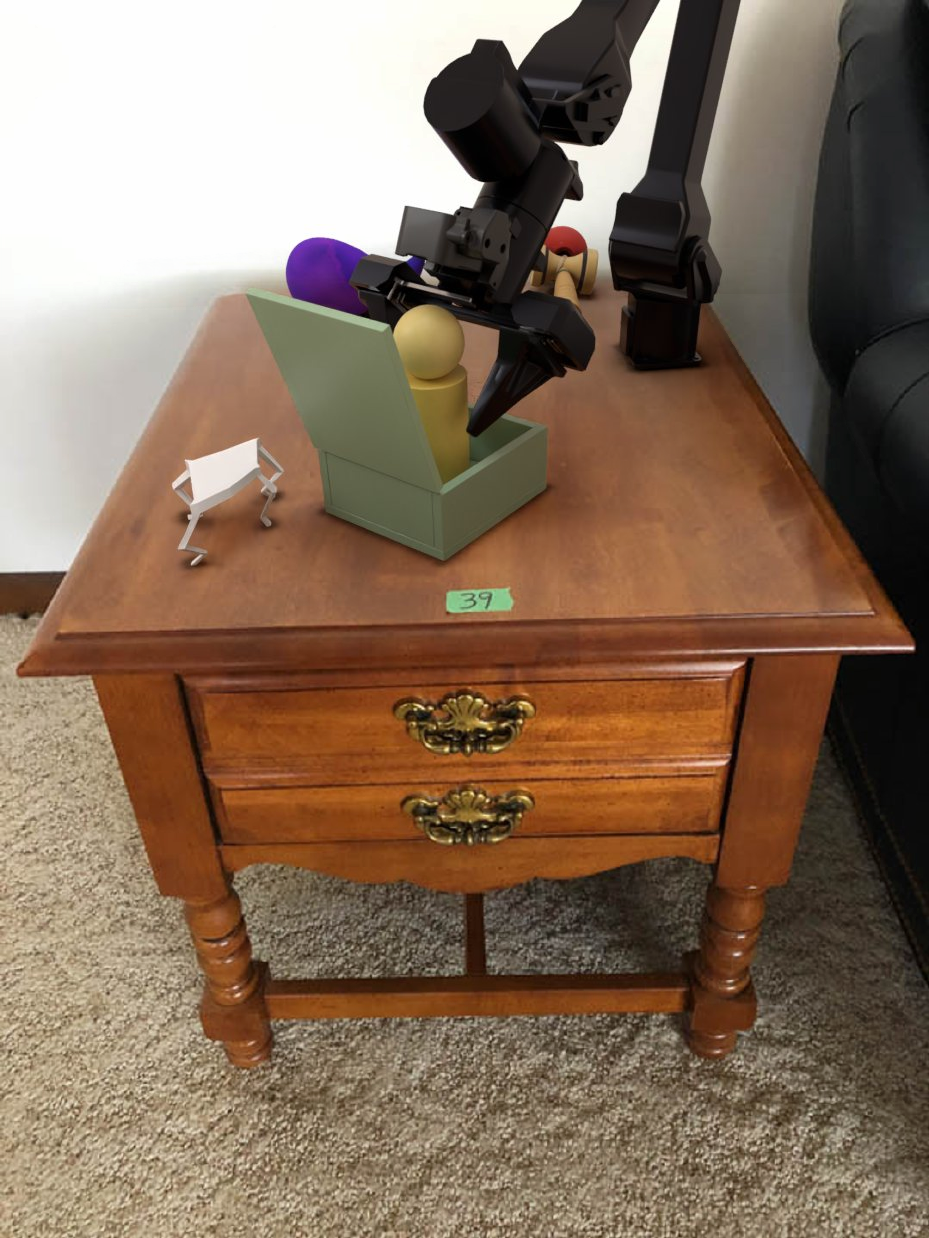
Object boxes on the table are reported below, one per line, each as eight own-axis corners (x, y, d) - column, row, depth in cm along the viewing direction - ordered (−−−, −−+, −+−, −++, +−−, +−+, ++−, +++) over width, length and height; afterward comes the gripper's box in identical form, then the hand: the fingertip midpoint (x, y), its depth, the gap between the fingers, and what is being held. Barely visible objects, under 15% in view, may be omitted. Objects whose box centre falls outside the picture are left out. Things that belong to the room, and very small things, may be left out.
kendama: (611, 339, 107) (598, 260, 120) (603, 283, 102) (591, 207, 115) (537, 353, 108) (532, 273, 121) (527, 298, 104) (522, 221, 116)
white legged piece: (186, 492, 81) (174, 435, 78) (292, 490, 81) (284, 433, 78) (147, 579, 71) (131, 518, 68) (267, 577, 71) (256, 516, 68)
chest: (431, 448, 86) (428, 389, 83) (546, 488, 80) (548, 426, 77) (325, 512, 78) (317, 449, 75) (444, 561, 72) (441, 495, 69)
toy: (419, 305, 116) (284, 303, 113) (424, 216, 111) (282, 211, 108) (431, 333, 109) (288, 331, 106) (437, 240, 104) (287, 235, 101)
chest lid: (251, 286, 65) (244, 293, 64) (389, 324, 59) (382, 331, 58) (319, 441, 75) (313, 447, 74) (443, 487, 69) (437, 493, 68)
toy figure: (424, 469, 81) (413, 289, 73) (482, 483, 79) (478, 300, 71) (389, 499, 78) (373, 314, 69) (449, 515, 75) (441, 325, 67)
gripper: (353, 136, 72) (259, 339, 71) (579, 170, 62) (471, 405, 62) (431, 224, 81) (348, 403, 81) (637, 266, 72) (544, 469, 71)
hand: (419, 418), depth 74 cm, fingers open, 9 cm apart
